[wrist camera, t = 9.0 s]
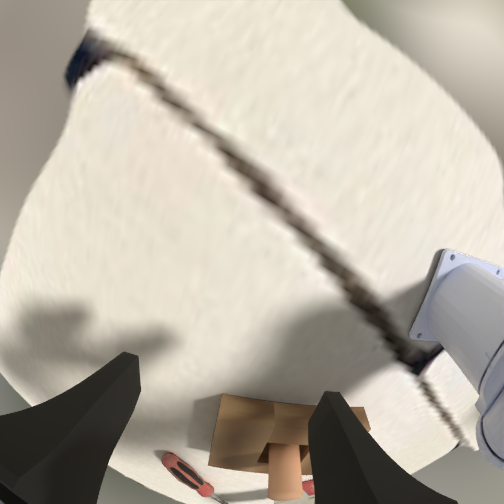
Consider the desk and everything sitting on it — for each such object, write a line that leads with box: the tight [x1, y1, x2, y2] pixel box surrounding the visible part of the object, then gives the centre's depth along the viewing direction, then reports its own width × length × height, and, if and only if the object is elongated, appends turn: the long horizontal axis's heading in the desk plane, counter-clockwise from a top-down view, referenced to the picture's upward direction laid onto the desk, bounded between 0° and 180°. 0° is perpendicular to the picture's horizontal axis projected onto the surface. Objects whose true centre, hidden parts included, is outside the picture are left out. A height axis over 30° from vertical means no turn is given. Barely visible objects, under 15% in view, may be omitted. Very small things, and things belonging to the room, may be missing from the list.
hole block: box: [208, 394, 371, 475], centre depth 22 cm, size 14×10×3 cm
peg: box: [268, 443, 303, 501], centre depth 20 cm, size 3×3×8 cm
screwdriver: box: [162, 453, 228, 504], centre depth 29 cm, size 25×3×3 cm, turn 19°
